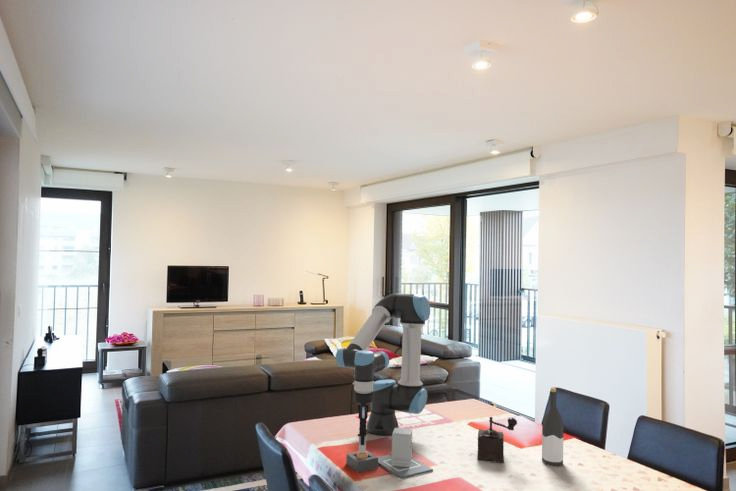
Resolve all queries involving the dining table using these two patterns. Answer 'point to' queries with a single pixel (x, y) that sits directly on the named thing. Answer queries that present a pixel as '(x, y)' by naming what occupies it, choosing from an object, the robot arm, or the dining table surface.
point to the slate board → (403, 472)
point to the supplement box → (401, 447)
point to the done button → (362, 455)
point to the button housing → (362, 462)
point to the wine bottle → (552, 434)
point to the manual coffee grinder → (493, 442)
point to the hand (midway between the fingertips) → (362, 451)
